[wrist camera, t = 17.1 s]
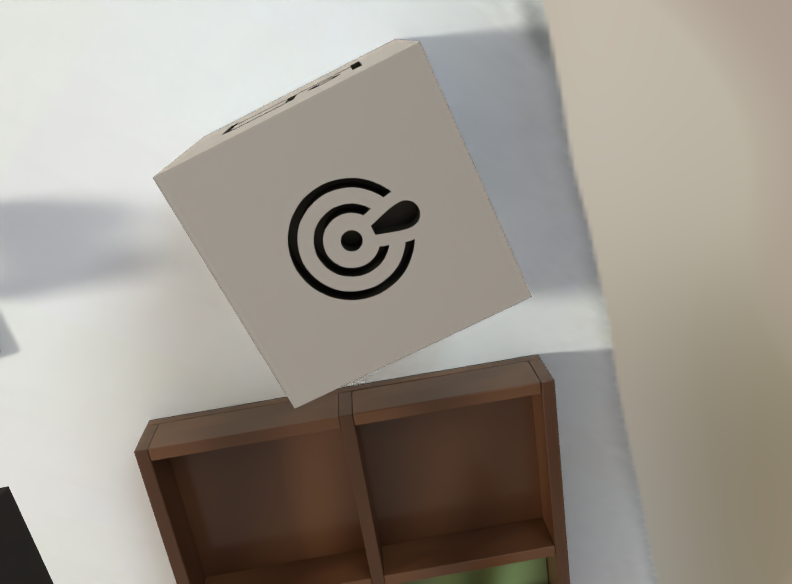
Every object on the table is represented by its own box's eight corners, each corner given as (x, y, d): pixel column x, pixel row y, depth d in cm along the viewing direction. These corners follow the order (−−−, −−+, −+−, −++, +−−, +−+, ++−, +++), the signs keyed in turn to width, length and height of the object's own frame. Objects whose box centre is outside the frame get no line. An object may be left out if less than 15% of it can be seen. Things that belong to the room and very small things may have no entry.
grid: (538, 353, 39) (554, 379, 36) (563, 647, 46) (578, 688, 43) (148, 420, 38) (133, 452, 35) (237, 706, 46) (231, 752, 43)
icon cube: (395, 39, 33) (419, 41, 23) (480, 228, 36) (532, 297, 27) (203, 136, 33) (152, 177, 24) (304, 313, 37) (294, 408, 27)
